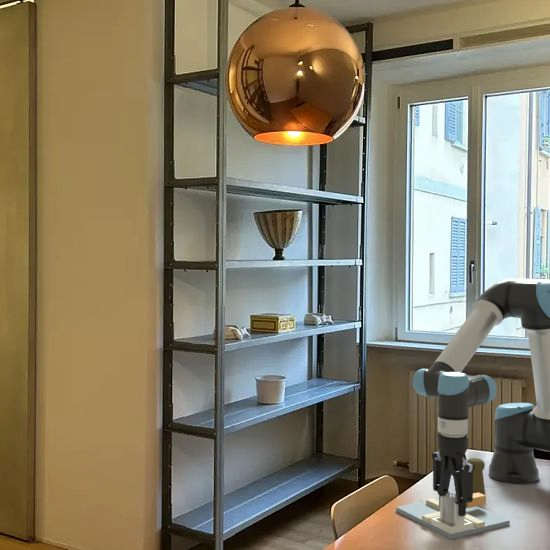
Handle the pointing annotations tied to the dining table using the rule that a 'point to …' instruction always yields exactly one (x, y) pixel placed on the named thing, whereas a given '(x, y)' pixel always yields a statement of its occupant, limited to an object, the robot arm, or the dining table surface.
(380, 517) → the dining table surface
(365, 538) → the dining table surface
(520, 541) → the dining table surface
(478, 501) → the hinged leg
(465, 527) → the socket
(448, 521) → the rook chess piece
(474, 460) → the brown pawn piece
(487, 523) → the base plate with blocks
